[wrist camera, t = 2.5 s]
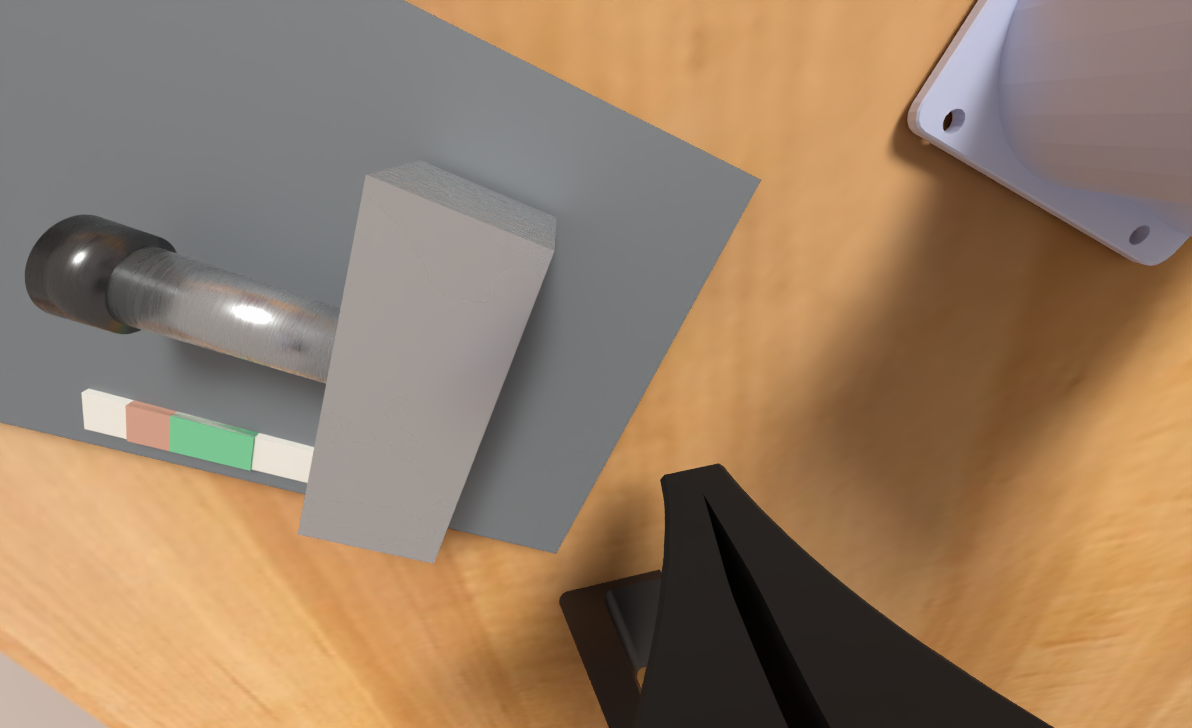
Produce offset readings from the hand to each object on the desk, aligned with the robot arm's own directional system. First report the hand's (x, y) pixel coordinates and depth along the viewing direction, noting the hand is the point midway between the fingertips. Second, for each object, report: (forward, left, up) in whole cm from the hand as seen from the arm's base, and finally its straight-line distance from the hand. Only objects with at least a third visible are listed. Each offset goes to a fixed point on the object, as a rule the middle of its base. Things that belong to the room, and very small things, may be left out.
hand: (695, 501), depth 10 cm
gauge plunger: (+9, +1, -3) cm, 10 cm away
